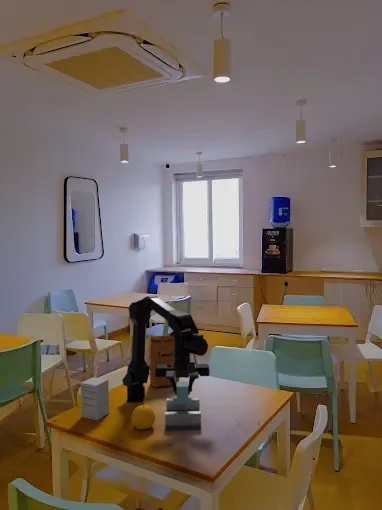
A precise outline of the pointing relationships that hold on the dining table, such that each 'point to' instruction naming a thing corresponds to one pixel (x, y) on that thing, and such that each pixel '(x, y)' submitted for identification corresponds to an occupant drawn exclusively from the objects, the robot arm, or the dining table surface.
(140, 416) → the orange fruit
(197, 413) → the vise
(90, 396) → the supplement box
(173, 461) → the dining table surface
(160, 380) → the coffee package
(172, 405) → the vise jaw
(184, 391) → the teal block
